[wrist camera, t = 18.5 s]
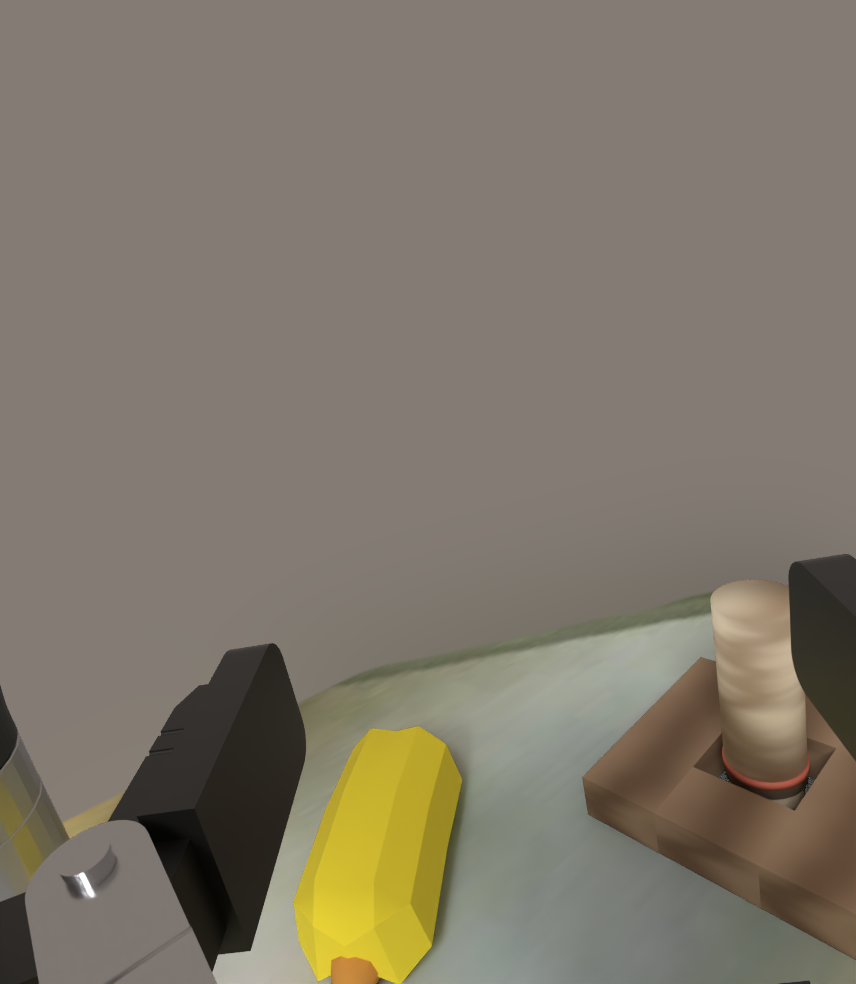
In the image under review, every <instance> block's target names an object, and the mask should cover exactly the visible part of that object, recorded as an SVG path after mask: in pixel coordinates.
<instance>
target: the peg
mask: <svg viewBox="0 0 856 984" xmlns="http://www.w3.org/2000/svg"><path fill="white" fill-rule="evenodd" d="M711 611H712V623H713V634H714V646H715V657H716V669H717V680H718V692H719V704H720V715H721V727H722V738H723V748H722V758H723V764H724V766H725V771H726V774H727V777H728V779H729V780H730V781H731V783H732V784H734V785H736V786H739V787H741V788H743V789H746V790H748V791H750V792H753V793H755V794H757V795H760V796H762V797H764V798H767V799H769V800H771V801H774V802H776V803H778V804H780V805H783V806H785V807H787V808H790V809H792V810H794V811H795V810H796V808H797V807H798V805H799V804H800V802H801V801H802V799H803V798H804V795H803V789H804V788H805V787H806V785H807V783H808V774H809V771H810V760H809V755H808V752H807V731H806V706H805V693H804V691H803V689H802V687H801V685H800V683H799V681H798V678H797V675H796V672H795V669H794V665H793V661H792V654H791V633H790V606H789V587H788V586H786V585H784V584H781V583H778V582H773V581H768V580H741V581H736V582H732V583H728V584H726V585H724V586H721V587H720V588H718V589H717V590H715V591H714V592H713V594H712V596H711Z"/></svg>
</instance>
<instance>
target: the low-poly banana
mask: <svg viewBox="0 0 856 984" xmlns="http://www.w3.org/2000/svg"><path fill="white" fill-rule="evenodd" d="M461 784H462V778H461V776H460V774H459V771H458V769H457V767H456V765H455V762H454V760H453V758H452V756H451V754H450V751H449V749H448V747H447V745H446V743H444V742H443V741H441V740H439V739H438V738H436V737H435V736H433V735H432V734H430V733H429V732H427V731H426V730H424V729H422V728H420V727H419V726H417V727H412V728H408V729H403V730H399V731H390V730H381V729H373V728H371V729H370V730H369V731H368V732H367V734H366V735H365V736H364V737H363V738H362V739H361V740H360V741H359V743H358V744H357V745H356V746H355V747H354V749H353V751H352V753H351V755H350V757H349V760H348V762H347V764H346V766H345V768H344V770H343V773H342V775H341V777H340V779H339V781H338V783H337V786H336V788H335V790H334V792H333V794H332V796H331V799H330V801H329V803H328V805H327V807H326V810H325V812H324V815H323V818H322V821H321V824H320V827H319V830H318V833H317V835H316V838H315V841H314V844H313V847H312V850H311V853H310V855H309V858H308V861H307V864H306V867H305V870H304V873H303V876H302V878H301V881H300V884H299V887H298V890H297V893H296V896H295V899H294V901H293V902H294V909H295V916H296V923H297V931H298V938H299V943H300V945H301V947H302V949H303V951H304V953H305V955H306V957H307V959H308V961H309V963H310V966H311V968H312V970H313V972H314V974H315V976H316V978H317V980H318V981H320V980H322V979H324V978H326V977H328V976H330V975H331V984H377V983H378V981H379V980H380V978H382V979H385V980H388V981H391V982H393V983H396V984H401V983H402V982H403V981H404V979H405V978H406V977H407V976H408V975H409V973H410V972H411V971H412V970H413V968H414V967H415V966H416V965H417V964H418V962H419V961H420V960H421V959H422V958H423V956H424V955H425V954H426V953H427V951H428V950H429V949H430V948H431V947H432V943H433V936H434V930H435V924H436V917H437V911H438V905H439V898H440V892H441V886H442V879H443V873H444V867H445V860H446V854H447V848H448V843H449V839H450V834H451V829H452V825H453V820H454V816H455V811H456V807H457V802H458V798H459V793H460V789H461Z"/></svg>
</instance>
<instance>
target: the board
mask: <svg viewBox="0 0 856 984" xmlns="http://www.w3.org/2000/svg"><path fill="white" fill-rule="evenodd" d="M805 706H806V731H807V752H808V755H809V760H810V771H809V774H808V776H810V777H812V778H815V779H816V780H815V781H814V783H813V784H812V786H811V787H810V789H809V790H808V792H807V793H806V795H805V796H804V798H803V799H802V801H801V802H800V804H799V805H798V807H797V808H796V810H795V811H794V810H792V809H790V808H787V807H785V806H783V805H780V804H778V803H776V802H774V801H771V800H769V799H767V798H764V797H762V796H760V795H757V794H755V793H753V792H750V791H748V790H746V789H743V788H741V787H739V786H736V785H734V784H732V783H729V782H727V781H725V780H722V779H720V778H718V777H719V776H720V775H721V774H722V772H723V771H724V770H725V766H724V764H723V758H722V748H723V738H722V727H721V715H720V704H719V692H718V680H717V669H716V662H715V661H711V660H708V659H705V658H702V657H700V658H699V659H698V660H697V662H696V663H695V664H694V665H693V666H692V667H691V668H690V669H689V670H688V671H687V672H686V673H685V674H684V675H683V676H682V677H681V678H680V679H679V680H678V681H677V682H676V683H675V684H674V685H673V686H672V687H671V688H670V689H669V690H668V691H667V692H666V693H665V694H664V695H663V696H662V697H661V698H660V699H659V700H658V701H657V702H656V703H655V704H654V705H653V706H652V707H651V708H650V709H649V710H648V711H647V712H646V713H645V714H644V715H643V716H642V717H641V718H640V719H639V720H638V721H637V722H636V723H635V724H634V725H633V726H632V727H631V728H630V729H629V730H628V731H627V732H626V733H625V734H624V735H623V736H622V738H621V739H620V740H619V741H618V742H617V743H616V744H615V745H614V746H613V747H612V748H611V749H610V750H609V751H608V752H607V753H606V754H605V755H604V756H603V757H602V758H601V759H600V760H599V761H598V762H597V763H596V764H595V765H594V766H593V767H592V768H591V769H590V770H589V771H588V772H587V773H586V774H585V775H584V776H583V777H582V778H583V785H584V791H585V797H586V803H587V809H588V814H589V815H591V816H593V817H594V818H596V819H598V820H600V821H602V822H604V823H605V824H607V825H609V826H611V827H613V828H615V829H616V830H618V831H620V832H622V833H624V834H626V835H627V836H629V837H631V838H633V839H635V840H637V841H638V842H640V843H642V844H644V845H646V846H648V847H650V848H651V849H653V850H655V851H657V852H659V853H661V854H662V855H664V856H666V857H668V858H670V859H672V860H673V861H675V862H677V863H679V864H681V865H683V866H684V867H686V868H688V869H690V870H692V871H694V872H695V873H697V874H699V875H701V876H703V877H705V878H707V879H708V880H710V881H712V882H714V883H716V884H718V885H719V886H721V887H723V888H725V889H727V890H729V891H730V892H732V893H734V894H736V895H738V896H740V897H741V898H743V899H745V900H747V901H749V902H751V903H752V904H754V905H756V906H758V907H760V908H762V909H764V910H765V911H767V912H769V913H771V914H773V915H775V916H776V917H778V918H780V919H782V920H784V921H786V922H787V923H789V924H791V925H793V926H795V927H797V928H798V929H800V930H802V931H804V932H806V933H808V934H809V935H811V936H813V937H815V938H817V939H819V940H821V941H822V942H824V943H826V944H828V945H830V946H832V947H833V948H835V949H837V950H839V951H841V952H843V953H844V954H846V955H848V956H850V957H852V958H854V959H855V960H856V761H855V760H854V759H853V757H852V756H851V755H850V753H849V752H848V751H847V749H846V748H845V747H844V745H843V744H842V743H841V741H840V740H839V738H838V737H837V736H836V734H835V733H834V732H833V730H832V729H831V728H830V726H829V725H828V724H827V722H826V721H825V720H824V718H823V717H822V716H821V714H820V713H819V712H818V710H817V709H816V708H815V706H814V705H813V704H812V702H811V701H810V700H809V698H808V697H807V696H806V694H805Z"/></svg>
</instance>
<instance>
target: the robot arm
mask: <svg viewBox="0 0 856 984" xmlns="http://www.w3.org/2000/svg"><path fill="white" fill-rule="evenodd" d="M789 606H790V633H791V654H792V661H793V665H794V669H795V672H796V675H797V678H798V681H799V683H800V685H801V687H802V689H803V691H804V693H805V694H806V696H807V697H808V698H809V700H810V701H811V702H812V704H813V705H814V706H815V708H816V709H817V710H818V712H819V713H820V714H821V716H822V717H823V718H824V720H825V721H826V722H827V724H828V725H829V726H830V728H831V729H832V730H833V732H834V733H835V734H836V736H837V737H838V738H839V740H840V741H841V743H842V744H843V745H844V747H845V748H846V749H847V751H848V752H849V753H850V755H851V756H852V757H853V759H854V760H855V761H856V559H855V558H853V557H852V556H850V555H848V554H842V555H835V556H829V557H823V558H817V559H810V560H804V561H797V562H794V563H792V565H791V567H790V570H789ZM149 753H150V755H149V756H147V757H146V758H145V759H144V761H143V763H142V764H141V766H140V768H139V769H138V771H137V773H136V775H135V776H134V778H133V780H132V781H131V783H130V785H129V786H128V788H127V790H126V792H125V793H124V795H123V797H122V798H121V800H120V802H119V803H118V805H117V807H116V809H115V810H114V812H113V814H112V815H111V817H110V819H109V821H108V822H106V823H102V824H99V825H96V826H94V827H91V828H89V829H87V830H85V831H83V832H81V833H79V834H77V835H76V836H74V837H72V838H71V839H70V838H69V836H68V834H67V832H66V830H65V828H64V826H63V823H62V821H61V819H60V817H59V815H58V813H57V811H56V809H55V807H54V805H53V803H52V800H51V798H50V796H49V794H48V792H47V790H46V788H45V786H44V784H43V781H42V780H41V777H40V775H39V774H38V772H37V770H36V768H35V766H34V763H33V761H32V759H31V757H30V755H29V753H28V751H27V749H26V747H25V745H24V742H23V740H22V739H21V736H20V734H19V732H18V730H17V728H16V726H15V723H14V721H13V720H12V717H11V715H10V713H9V710H8V708H7V705H6V703H5V700H4V696H3V693H2V690H1V686H0V984H217V983H216V980H215V978H214V976H213V974H212V971H213V968H214V965H215V962H216V959H217V956H218V954H226V953H235V952H244V951H251V947H252V944H253V940H254V937H255V933H256V930H257V926H258V923H259V919H260V916H261V912H262V909H263V905H264V902H265V898H266V895H267V891H268V888H269V884H270V881H271V877H272V874H273V870H274V867H275V863H276V860H277V856H278V853H279V849H280V846H281V842H282V839H283V835H284V832H285V828H286V825H287V821H288V818H289V814H290V811H291V807H292V804H293V800H294V797H295V793H296V790H297V786H298V783H299V779H300V776H301V772H302V769H303V765H304V761H305V754H306V738H305V729H304V724H303V720H302V717H301V714H300V711H299V707H298V704H297V701H296V698H295V695H294V692H293V688H292V685H291V682H290V679H289V675H288V672H287V669H286V666H285V663H284V660H283V656H282V654H281V652H280V650H279V648H278V647H277V645H275V644H273V643H271V644H265V645H258V646H252V647H245V648H240V649H233V650H229V651H227V652H226V653H225V655H224V656H223V658H222V660H221V662H220V664H219V666H218V667H217V670H216V671H215V673H214V675H213V677H212V678H211V680H210V682H209V684H208V685H201V686H198V687H197V688H196V689H195V690H194V691H193V692H191V694H189V695H188V696H187V697H186V698H185V699H184V700H183V701H182V702H181V703H180V704H178V705H177V706H176V707H175V708H174V710H173V712H172V713H171V715H170V717H169V718H168V720H167V722H166V724H165V725H164V727H163V729H162V730H161V736H158V737H157V739H156V741H155V742H154V744H153V746H152V747H151V749H150V751H149ZM781 984H810V981H801V982H791V983H781Z"/></svg>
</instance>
